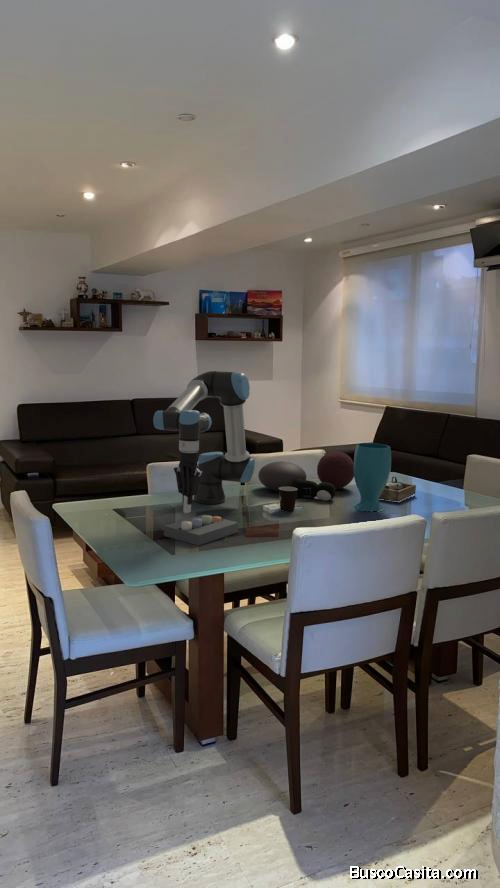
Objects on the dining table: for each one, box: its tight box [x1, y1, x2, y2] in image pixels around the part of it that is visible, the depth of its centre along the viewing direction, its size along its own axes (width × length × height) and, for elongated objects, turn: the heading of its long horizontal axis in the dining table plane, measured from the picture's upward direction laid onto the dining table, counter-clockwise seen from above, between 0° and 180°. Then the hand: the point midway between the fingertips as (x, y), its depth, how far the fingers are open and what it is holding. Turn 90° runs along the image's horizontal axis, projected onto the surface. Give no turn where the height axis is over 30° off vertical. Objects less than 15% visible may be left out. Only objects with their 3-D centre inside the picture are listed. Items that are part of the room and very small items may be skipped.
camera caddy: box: [379, 480, 417, 501], centre depth 341 cm, size 14×21×6 cm, turn 144°
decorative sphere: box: [316, 450, 355, 490], centre depth 355 cm, size 20×20×20 cm
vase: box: [352, 442, 392, 512], centre depth 315 cm, size 17×17×30 cm
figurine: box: [295, 479, 336, 502], centre depth 332 cm, size 9×9×20 cm
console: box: [163, 513, 239, 546], centre depth 265 cm, size 18×24×4 cm
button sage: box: [202, 514, 213, 525], centre depth 267 cm, size 4×4×4 cm
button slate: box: [192, 517, 202, 528], centre depth 262 cm, size 4×4×4 cm
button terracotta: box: [212, 515, 222, 522], centre depth 272 cm, size 4×4×4 cm
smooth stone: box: [257, 460, 307, 492], centre depth 347 cm, size 25×25×15 cm
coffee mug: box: [278, 487, 298, 512], centre depth 309 cm, size 12×9×10 cm
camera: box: [384, 475, 404, 491], centre depth 343 cm, size 15×8×10 cm, turn 137°
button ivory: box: [181, 520, 192, 531], centre depth 257 cm, size 4×4×4 cm
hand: (187, 512), depth 257 cm, fingers closed
